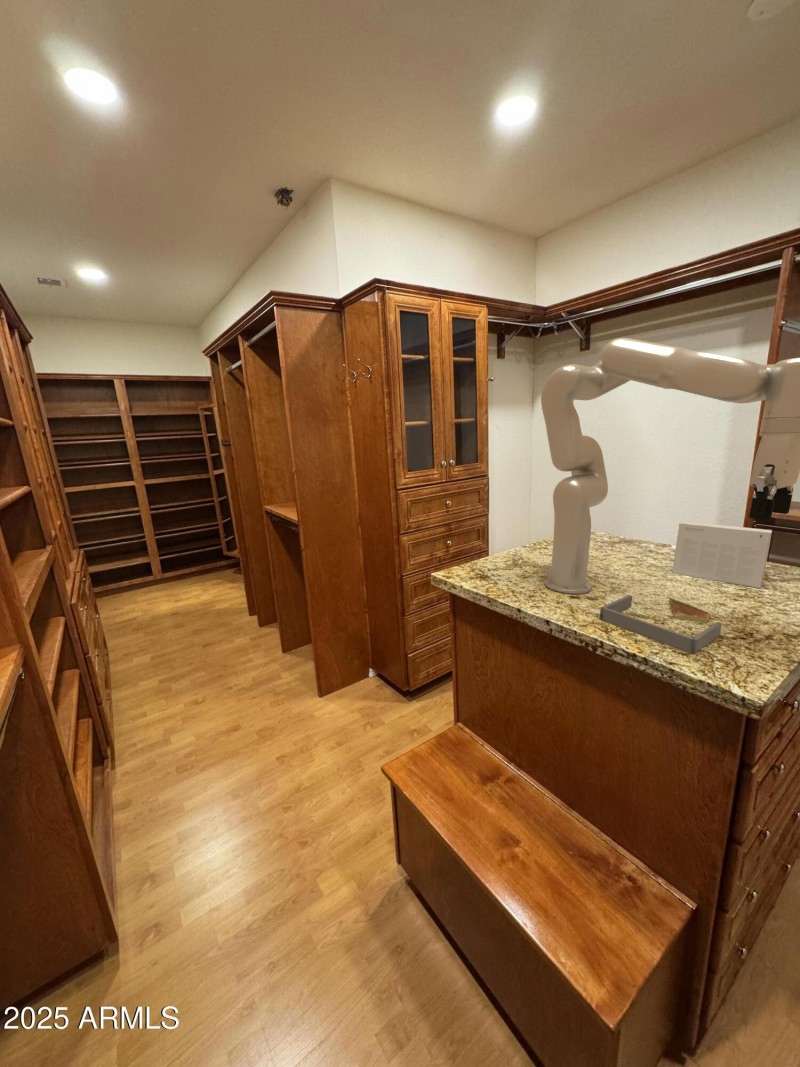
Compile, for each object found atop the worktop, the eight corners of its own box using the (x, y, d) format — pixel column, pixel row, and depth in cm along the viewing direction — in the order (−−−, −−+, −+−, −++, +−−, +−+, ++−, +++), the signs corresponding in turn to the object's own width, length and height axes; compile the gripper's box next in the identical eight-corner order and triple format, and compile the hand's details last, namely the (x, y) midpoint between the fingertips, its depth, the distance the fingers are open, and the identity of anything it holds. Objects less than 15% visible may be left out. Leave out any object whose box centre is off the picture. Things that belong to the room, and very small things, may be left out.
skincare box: (762, 583, 116) (773, 529, 112) (761, 589, 112) (772, 533, 109) (674, 568, 130) (682, 520, 126) (671, 573, 126) (678, 523, 123)
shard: (668, 603, 106) (669, 596, 105) (704, 608, 102) (705, 601, 102) (673, 620, 97) (674, 613, 96) (713, 626, 93) (714, 619, 93)
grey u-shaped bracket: (599, 619, 97) (600, 607, 96) (627, 605, 104) (629, 594, 103) (693, 654, 81) (695, 640, 80) (719, 635, 88) (721, 623, 87)
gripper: (777, 427, 85) (761, 508, 89) (743, 429, 76) (728, 518, 80) (827, 426, 79) (808, 513, 83) (797, 428, 70) (777, 525, 74)
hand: (769, 515), depth 82 cm, fingers open, 9 cm apart
